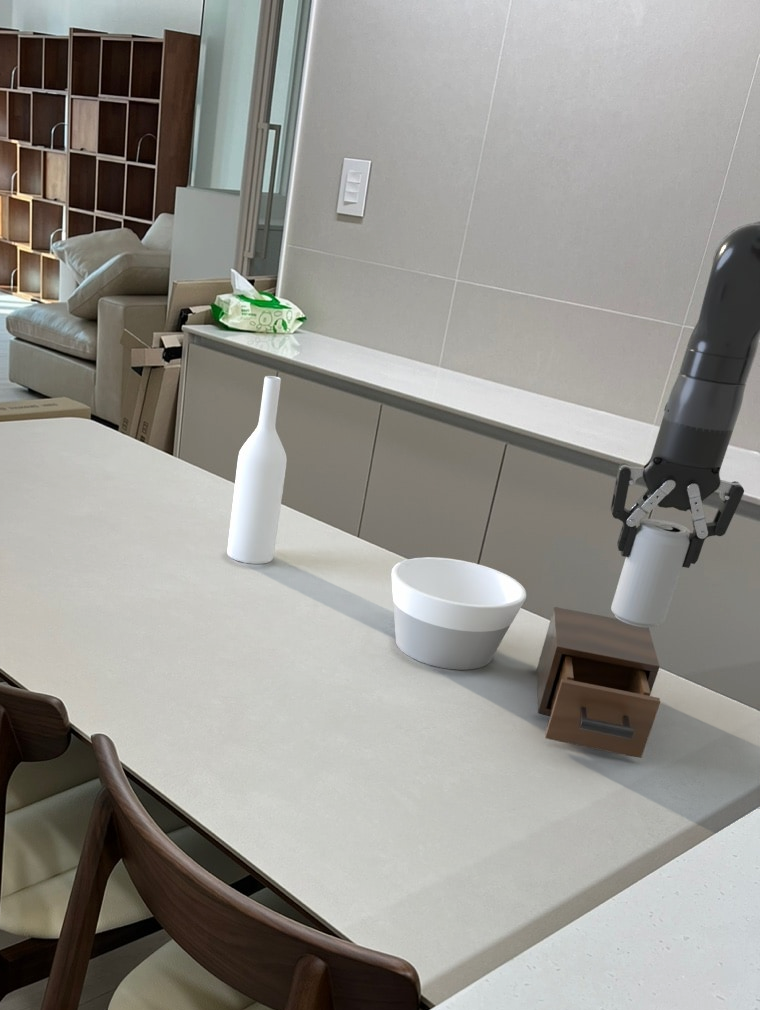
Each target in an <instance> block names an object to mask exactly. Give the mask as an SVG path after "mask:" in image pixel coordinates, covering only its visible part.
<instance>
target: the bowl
mask: <svg viewBox="0 0 760 1010" xmlns="http://www.w3.org/2000/svg"><path fill="white" fill-rule="evenodd" d="M391 588H392V601H393V617H394V618H393V619H394V632H395V644H396V646H397V648H398V649H399V650H400V651H401V652H402V653H404V654H405V655H406V656H408V657H410V658H412V659H414V660H415V661H418V662H420V663H423V664H425V665H429V666H432V667H437V668H441V669H447V670H457V671H461V670H463V671H465V670H467V671H468V670H476V669H479V668H483V667H486V666H487V665H488V664H490V662H491V661H492V659H493V657H494V656H495V654H496V652H497V650H498V648H499V646H500V645H501V643H502V642H503V640H504V637H505V636H506V634H507V632H508V630H509V629H510V627H511V625H512V623H514V620H515V618H516V616H517V615H518V613H519V612H520V610H521V609H522V606H523V604H524V602H525V601H526V598H527V591H526V588H525V587H524V586H523V585H522V584H521V583H520V582H519V581H518V580H517V579H515V578H513V577H512V576H509V575H508V574H506V573H504V572H502V571H499V570H498V569H495V568H491V567H489V566H486V565H482V564H479V563H475V562H470V561H466V560H462V559H454V558H447V557H431V556H430V557H415V558H407V559H405V560H401V561H399V562H398V563H396V564H394V566H393V567H392V569H391Z"/></svg>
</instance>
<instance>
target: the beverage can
mask: <svg viewBox="0 0 760 1010" xmlns="http://www.w3.org/2000/svg"><path fill="white" fill-rule="evenodd" d="M636 527H637V530H636V533H635V537H634V540H633V543H632V546H631V550H630V553H629V556H628V557H625V560H624V563H623V566H622V570H621V573H620V576H619V579H618V582H617V586H616V590H615V592H614V596H613V599H612V603H611V606H610V607H611V608H610V609H611V612H612V613H613V614H614V616H615V618H616V619H619V620H621V621H622V622H625V623H627V624H630V625H634V626H638V627H645V628H649V629H650V628H655V627H657V626H658V625H661V624H663V623H664V622H665V621H666V618H667V615H668V612H669V609H670V606H671V602H672V601H673V596H674V594H675V591H676V588H677V585H678V581H679V577H680V576H681V572H682V569H683V567H682V566H683V563H684V560H685V557H686V554H687V551H688V547H689V544H690V540H689V535H690V533H691V530H690V529H689V528H688V527H687V526H684V525H682V524H679V523H677V522H674V521H670V520H664V519H659V518H642V519H641V520H640V521H639V525H638V526H636Z"/></svg>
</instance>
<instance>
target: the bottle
mask: <svg viewBox="0 0 760 1010" xmlns="http://www.w3.org/2000/svg"><path fill="white" fill-rule="evenodd" d="M281 383H282V378H281V377H279V376H275V375H265V376H264V379H263V386H262V387H263V388H262V395H261V402H260V404H261V405H260V409H259V410H260V411H259V418H258V423H257V426H256V428H255V429H254V431H253V432H252V433H251V435H250V436H249V437H248V438H247V440H246V441H245V442H244V443H243V445H242V447H241V448H240V450H239V451H238V456H237V463H236V471H235V472H236V473H235V478H234V479H235V481H234V490H233V497H232V506H231V514H230V522H229V523H230V524H229V531H228V540H227V547H226V549H227V550H226V554H227V555H228V557H229V558H230V559H232V560H235V561H237V562H240V563H244V564H252V565H263V564H267V563H270V562H272V561H273V559H274V556H275V550H276V542H277V535H278V528H279V522H280V521H279V520H280V514H281V507H282V499H283V492H284V484H285V478H286V471H287V459H288V458H287V454H286V451H285V448H284V446H283V443H282V441H281V438H280V436H279V434H278V432H277V428H276V421H277V415H278V414H277V413H278V406H279V405H278V404H279V398H280V390H281Z"/></svg>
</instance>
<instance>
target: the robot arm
mask: <svg viewBox="0 0 760 1010" xmlns="http://www.w3.org/2000/svg"><path fill="white" fill-rule="evenodd" d="M708 277H709V278H708V280H707V283H706V284H707V285H706V288H705V292H704V296H703V299H702V304H701V308H700V312H699V316H698V320H697V322H696V323H695V325H694V327H693V330H692V332H691V334H690V337H689V340H688V342H687V346H686V348H685V351H684V355H683V357H682V361H681V364H680V368H679V371H678V374H677V378H676V379H675V382H674V384H673V386H672V389H671V390H670V394H669V397H668V400H667V402H666V403H665V406H664V412H663V416H662V420H661V423H660V427H659V430H658V433H657V437H656V439H655V443H654V445H653V446H654V447H653V450H652V453H651V456H650V458H649V460H648V462H647V463H646V464H645V465H644V466H630V465H628V463H625V462H623V463H620V464H619V465H618V467H617V472H616V477H615V483H614V488H613V494H612V497H611V499H612V500H611V505H610V512H611V515H612V517H613V518H614V519H618V520H619V521H620V522H622V526H621V529H620V532H619V535H618V539H617V542H616V543H617V544H616V545H617V550H618V551H619V552H620V555H621V557H623V558H624V557H625V558H626V557H628V556H629V553H630V550H631V546H632V543H633V540H634V537H635V533H636V530H637V527H638V526H637V525H638V524H639V523H640V521H641V520H643V519H644V518H645V516H646V515H647V514H650V513H651V512H652V511H653V510H654V509H655V508H656V506H658V508H663V509H664V508H665V509H669V508H674V509H676V510H679V511H682V512H688V511H689V515H690V519H691V524H692V527H693V529H692V532H690V533H689V535H688V537H689V540H690V544H689V547H688V551H687V554H686V557H685V560H684V563H683V566H682V568H685V569H690V567H691V564H692V565H695V564H696V563H697V562H698V560H699V558H700V555H701V551H702V550H703V549H702V548H703V546H704V543H705V540H706V539H707V538H710V537H715V536H717V537H723V536H725V535H726V533H727V530H728V528H729V526H730V524H731V522H732V520H733V518H734V515H735V513H736V511H737V508H738V507H739V504H740V502H741V500H742V497H743V495H744V493H745V489H744V487H743V486H742V484H741V483H740V482H739V481H727V480H723V479H721V476H720V475H721V474H720V473H721V469H722V466H723V462H724V459H725V457H726V454H727V451H728V447H729V445H730V441H731V438H732V435H733V432H734V429H735V426H736V423H737V420H738V417H739V415H740V411H741V409H742V404H743V401H744V395H745V389H746V386H747V382H748V380H749V377H750V373H751V370H752V368H753V364H754V361H755V358H756V355H757V351H758V347H759V343H760V220H759V221H755V222H750V223H747V224H744V225H741V226H738V227H737V228H734V229H732V230H731V231H729V232H728V233H727V234H726V235H725V236H724V237H723V238H722V239H721V240H720V242H719V243H718V245H717V247H716V249H715V251H714V254H713V258H712V264H711V270H710V273H709V276H708ZM639 478H642V479H643V482H644V484H645V487H646V490H645V491H644V492H643V493H642V494H641V495H640V496H639V497H638V498H637V500H636V502H635V503H634V504H633V505H632V506H631V507H630V508H629V509H628V508H625V507H626V502H627V497H628V491H629V487H632V486H634V485H635V484H636V482H637V481H638V479H639ZM717 490H719V493H718V494H719V495H718V496H719V499H720V500H721V502H720V504H719V506H718V509H717V511H716V513H715V516H714V518H713V519H712V521H711V522H707V521H706V515H705V510H704V506H703V501H705V500H706V499H707V498H709V497H710V496H711V495H712V494H713V493H715V492H716V491H717Z"/></svg>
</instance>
